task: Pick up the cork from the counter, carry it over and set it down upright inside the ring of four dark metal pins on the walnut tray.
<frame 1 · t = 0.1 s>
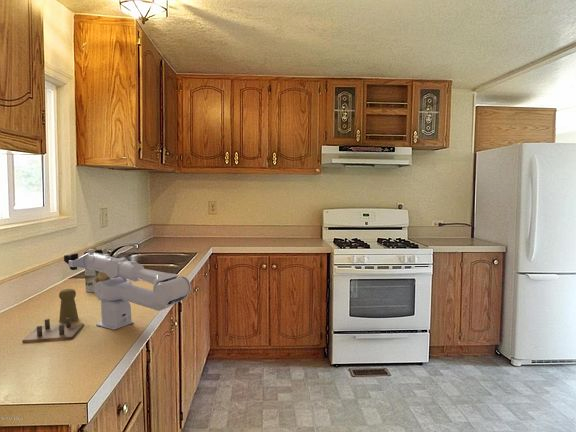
hand: (75, 256, 148), 22 cm above the worktop, tool horizontal, fingers open, 7 cm apart
coffee box: (98, 290, 185), on the worktop
pin tray: (54, 333, 133), on the worktop
cork: (68, 320, 145), on the worktop
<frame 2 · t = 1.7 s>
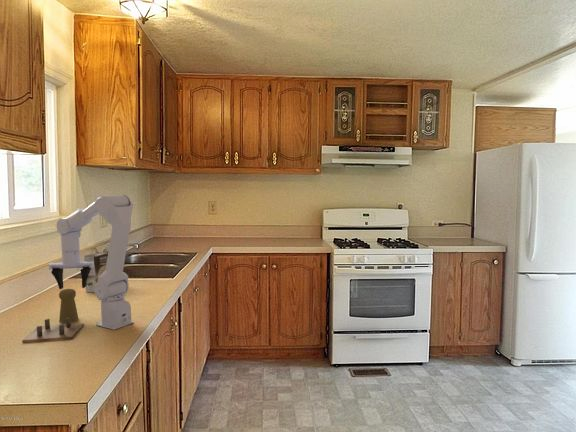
hand: (72, 287, 150), 10 cm above the worktop, tool pointing down, fingers open, 7 cm apart
nothing on the worktop moved.
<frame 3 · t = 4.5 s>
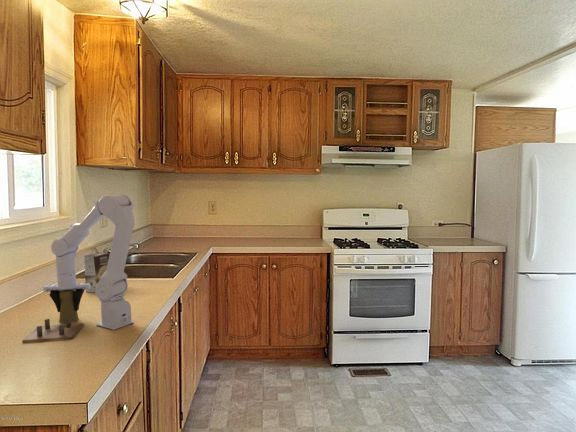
hand: (68, 310, 145), 3 cm above the worktop, tool pointing down, fingers closed on cork, 5 cm apart
cork: (68, 320, 145), on the worktop, touching gripper
everything else where it was.
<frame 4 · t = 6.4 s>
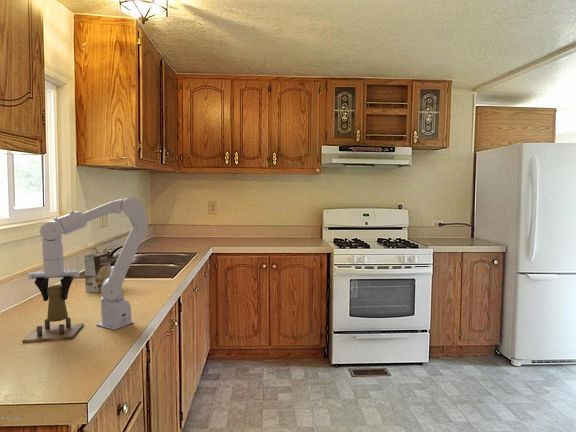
hand: (55, 299, 134), 10 cm above the worktop, tool pointing down, fingers closed on cork, 5 cm apart
cork: (57, 318, 135), point 4 cm above the worktop, touching gripper
everything else where it was.
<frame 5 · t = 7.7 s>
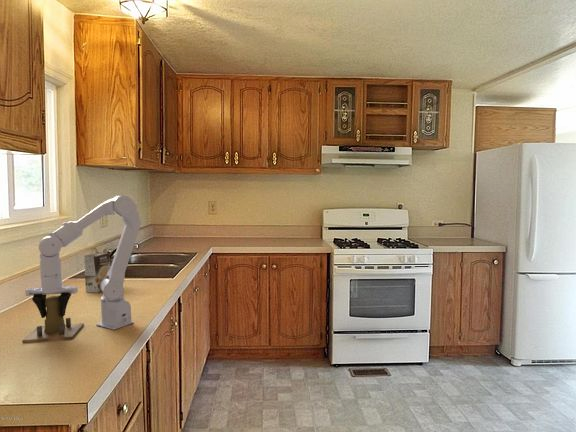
hand: (53, 316, 132), 6 cm above the worktop, tool pointing down, fingers closed on cork, 5 cm apart
cork: (55, 330, 133), point 1 cm above the worktop, touching gripper, pin tray
everything else where it was.
when the fingers open (5 cm above the worktop, at t = 8.7 s): cork stays where it is, resting on pin tray.
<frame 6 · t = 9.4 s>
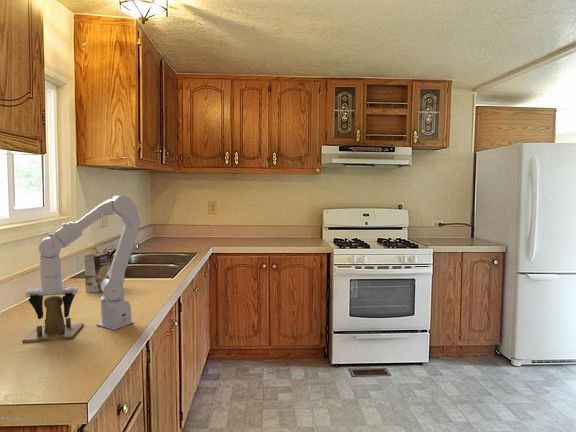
hand: (53, 317, 132), 5 cm above the worktop, tool pointing down, fingers open, 7 cm apart
cork: (55, 330, 133), point 1 cm above the worktop, touching pin tray
everything else where it was.
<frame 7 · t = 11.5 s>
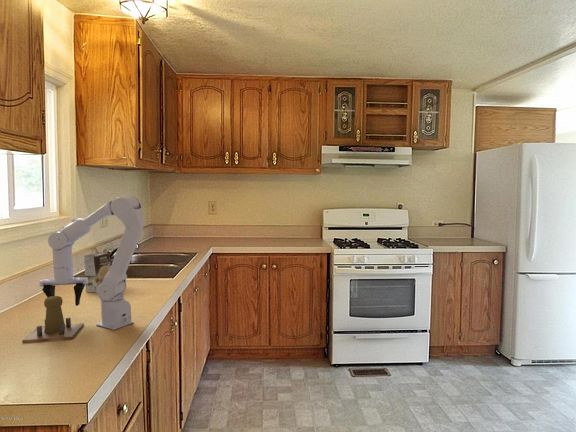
hand: (65, 305, 141), 6 cm above the worktop, tool pointing down, fingers open, 7 cm apart
nothing on the worktop moved.
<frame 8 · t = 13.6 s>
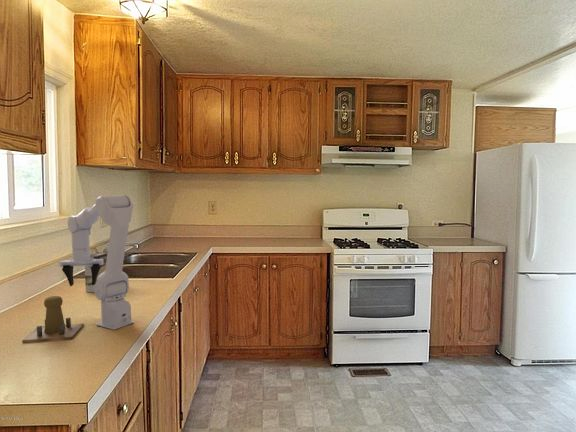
hand: (82, 284, 153), 10 cm above the worktop, tool pointing down, fingers open, 7 cm apart
nothing on the worktop moved.
at the end: cork 1.0 cm off-centre on the pin tray, point 0.6 cm above the pin tray's base; cork tilted 0°; cork touching pin tray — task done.
